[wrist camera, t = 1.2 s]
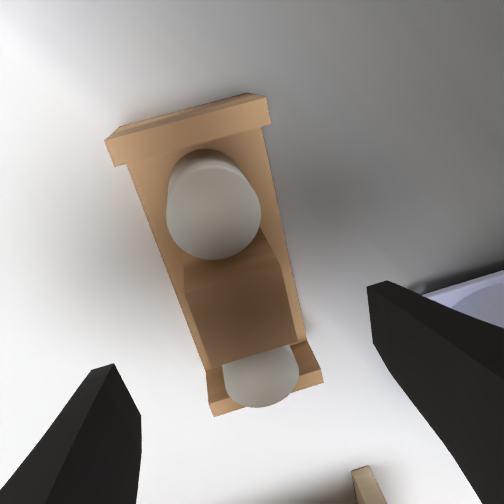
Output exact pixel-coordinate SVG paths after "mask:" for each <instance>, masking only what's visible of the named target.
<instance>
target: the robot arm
mask: <svg viewBox="0 0 504 504" xmlns="http://www.w3.org/2000/svg"><path fill="white" fill-rule="evenodd" d="M367 295H368V304H369V312H370V321H371V330H372V338H373V344H374V346H375V347H376V349H377V351H378V353H379V354H380V356H381V358H382V360H383V361H384V363H385V365H386V366H387V368H388V370H389V372H390V373H391V375H392V376H393V377H394V379H395V380H396V381H397V383H398V384H399V385H400V387H401V388H402V389H403V391H404V392H405V393H406V395H407V396H408V397H409V399H410V400H411V401H412V402H413V404H414V405H415V406H416V408H417V409H418V410H419V412H420V413H421V414H422V416H423V417H424V418H425V420H426V421H427V422H428V423H429V425H430V426H431V427H432V429H433V430H434V431H435V433H436V434H437V435H438V437H439V438H440V439H441V440H442V442H443V443H444V445H445V446H446V447H447V449H448V450H449V452H450V453H451V455H452V456H453V457H454V459H455V460H456V462H457V464H458V465H459V467H460V468H461V470H462V472H463V473H464V475H465V476H466V478H467V480H468V481H469V483H470V484H471V486H472V488H473V489H474V491H475V492H476V494H477V496H478V497H479V499H480V501H481V502H482V504H504V270H502V271H499V272H496V273H492V274H489V275H486V276H482V277H479V278H476V279H473V280H469V281H466V282H463V283H459V284H456V285H453V286H450V287H446V288H443V289H440V290H437V291H433V292H430V293H427V294H423V295H420V294H417V293H415V292H413V291H411V290H408V289H406V288H404V287H402V286H399V285H397V284H395V283H392V282H390V281H383V282H380V283H377V284H374V285H370V286H367ZM141 453H142V435H141V415H140V413H139V411H138V409H137V407H136V405H135V403H134V401H133V399H132V397H131V395H130V393H129V391H128V389H127V388H126V386H125V384H124V382H123V380H122V378H121V376H120V374H119V372H118V370H117V368H116V366H115V364H114V363H113V364H110V365H106V366H103V367H100V368H97V369H93V370H91V371H90V373H89V374H88V375H87V377H86V378H85V379H84V381H83V382H82V383H81V385H80V386H79V387H78V389H77V390H76V392H75V393H74V394H73V396H72V397H71V399H70V400H69V401H68V403H67V404H66V406H65V407H64V408H63V410H62V411H61V412H60V414H59V415H58V417H57V418H56V419H55V421H54V422H53V423H52V425H51V426H50V428H49V429H48V430H47V432H46V433H45V434H44V436H43V437H42V438H41V440H40V441H39V442H38V444H37V445H36V446H35V447H34V449H33V450H32V451H31V452H30V454H29V455H28V456H27V457H26V459H25V460H24V461H23V463H22V464H21V465H20V466H19V468H18V469H17V470H16V471H15V473H14V474H13V475H12V477H11V478H10V479H9V480H8V481H7V483H6V484H5V485H4V486H3V487H2V488H1V490H0V504H136V498H137V490H138V481H139V472H140V463H141Z"/></svg>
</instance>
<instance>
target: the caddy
mask: <svg viewBox="0 0 504 504" xmlns="http://www.w3.org/2000/svg"><path fill="white" fill-rule="evenodd" d="M270 124H271V120H270V115H269V110H268V105H267V100H266V97H263V96H259V95H255V94H251V93H245V94H241V95H237V96H233V97H230V98H226V99H222V100H218V101H215V102H211V103H207V104H203V105H200V106H196V107H192V108H188V109H185V110H181V111H177V112H173V113H170V114H166V115H162V116H158V117H154V118H151V119H147V120H143V121H139V122H136V123H132V124H128V125H124V126H121V127H119V128H118V129H117V130H116V131H115V132H113V133H112V134H111V135H110V136H109V137H108V138H107V139H106V140H104V141H105V144H106V147H107V149H108V152H109V154H110V157H111V159H112V162H113V164H114V167H116V166H119V165H123V164H127V167H128V169H129V172H130V175H131V177H132V180H133V182H134V185H135V188H136V190H137V193H138V196H139V198H140V201H141V203H142V206H143V209H144V211H145V214H146V217H147V219H148V222H149V224H150V227H151V230H152V232H153V235H154V238H155V240H156V243H157V245H158V248H159V251H160V253H161V256H162V258H163V261H164V264H165V266H166V269H167V272H168V274H169V277H170V279H171V282H172V285H173V287H174V290H175V293H176V295H177V298H178V300H179V303H180V306H181V308H182V311H183V314H184V316H185V319H186V321H187V324H188V327H189V329H190V332H191V334H192V337H193V340H194V342H195V345H196V348H197V350H198V353H199V355H200V358H201V361H202V363H203V366H204V369H205V371H206V380H207V391H208V401H209V406H210V409H211V411H212V414H213V416H214V417H216V416H219V415H222V414H225V413H228V412H232V411H235V410H238V409H241V408H244V407H255V408H258V407H266V406H270V405H273V404H275V403H277V402H279V401H281V400H283V399H284V398H285V397H287V396H288V395H289V394H290V393H292V392H295V391H299V390H302V389H305V388H308V387H311V386H314V385H318V384H321V383H324V382H323V377H322V372H321V368H320V366H319V364H318V362H317V360H316V358H315V356H314V354H313V352H312V350H311V348H310V346H309V344H308V342H307V338H306V334H305V329H304V324H303V320H302V315H301V310H300V306H299V301H298V296H297V292H296V287H295V282H294V278H293V273H292V268H291V264H290V259H289V254H288V250H287V245H286V240H285V236H284V231H283V226H282V222H281V217H280V212H279V208H278V203H277V198H276V193H275V189H274V184H273V179H272V175H271V170H270V165H269V161H268V156H267V151H266V147H265V142H264V137H263V133H262V128H261V127H263V126H266V125H270Z"/></svg>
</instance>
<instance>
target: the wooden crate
mask: <svg viewBox="0 0 504 504" xmlns="http://www.w3.org/2000/svg"><path fill="white" fill-rule="evenodd" d="M352 477H353V482H354V488H355V493H356V499H357V504H387V502H386V500H385V498H384V496H383V494H382V492H381V490H380V488H379V486H378V484H377V482H376V480H375V478H374V476H373V474H372V472H371V469H370V467H369V466H367V467H364V468H360V469H357V470H354V471H352Z"/></svg>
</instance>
